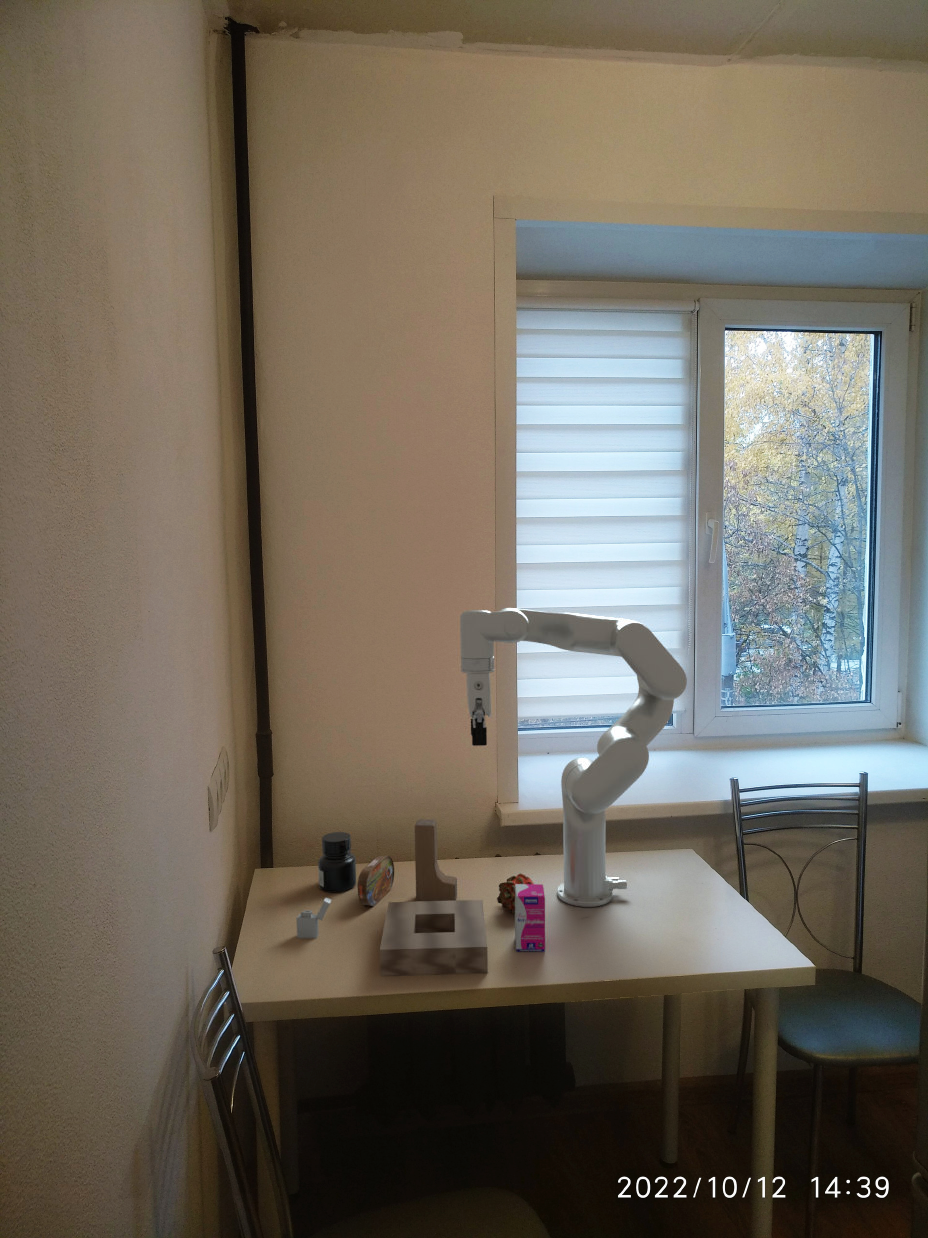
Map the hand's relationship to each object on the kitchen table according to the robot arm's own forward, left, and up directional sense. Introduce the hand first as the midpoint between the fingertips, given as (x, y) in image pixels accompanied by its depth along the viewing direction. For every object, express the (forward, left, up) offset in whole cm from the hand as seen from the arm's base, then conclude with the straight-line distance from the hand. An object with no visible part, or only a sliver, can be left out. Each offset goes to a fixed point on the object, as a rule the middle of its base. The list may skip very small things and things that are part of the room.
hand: (478, 740), depth 168 cm
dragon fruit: (-8, +6, -37) cm, 38 cm away
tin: (+24, -2, -37) cm, 44 cm away
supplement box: (-9, +22, -37) cm, 44 cm away
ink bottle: (+34, -9, -37) cm, 51 cm away
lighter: (+35, +16, -37) cm, 53 cm away
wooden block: (+10, 0, -37) cm, 38 cm away
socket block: (+10, +22, -37) cm, 44 cm away
